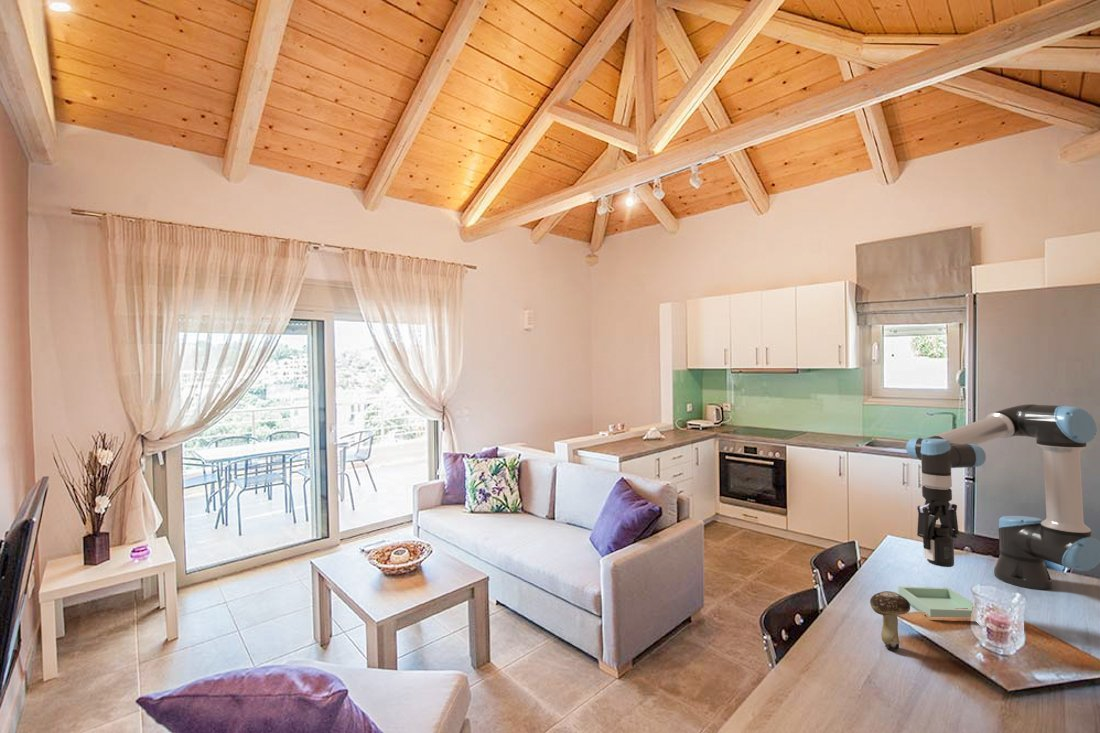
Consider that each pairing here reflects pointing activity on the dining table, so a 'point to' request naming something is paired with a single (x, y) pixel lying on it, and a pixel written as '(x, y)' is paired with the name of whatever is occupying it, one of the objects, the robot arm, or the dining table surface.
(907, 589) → the bin
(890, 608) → the mushroom
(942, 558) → the supplement bottle
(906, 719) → the dining table surface
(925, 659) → the dining table surface
